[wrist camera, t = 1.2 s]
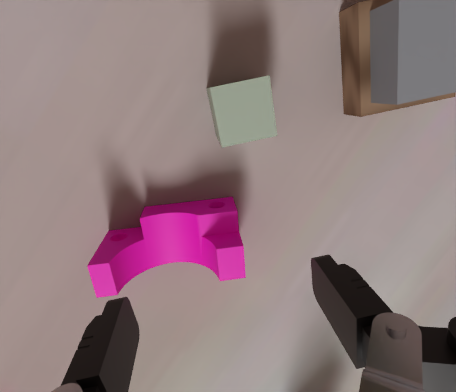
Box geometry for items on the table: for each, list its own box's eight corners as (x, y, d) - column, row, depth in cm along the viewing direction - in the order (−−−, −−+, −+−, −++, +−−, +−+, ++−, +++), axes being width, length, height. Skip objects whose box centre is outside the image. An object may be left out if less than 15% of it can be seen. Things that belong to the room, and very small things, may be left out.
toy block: (232, 196, 35) (241, 223, 28) (235, 241, 37) (245, 277, 30) (104, 210, 33) (80, 242, 26) (116, 256, 36) (96, 297, 29)
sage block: (206, 88, 30) (209, 87, 23) (253, 78, 30) (269, 75, 24) (216, 136, 32) (221, 147, 25) (260, 126, 32) (277, 135, 25)
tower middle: (369, 11, 26) (399, -3, 22) (454, -6, 26) (497, -23, 22) (370, 102, 29) (397, 104, 25) (447, 86, 29) (484, 86, 25)
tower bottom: (337, 13, 29) (358, 2, 26) (431, -6, 30) (465, -20, 26) (342, 113, 33) (361, 116, 29) (425, 95, 33) (455, 96, 29)
